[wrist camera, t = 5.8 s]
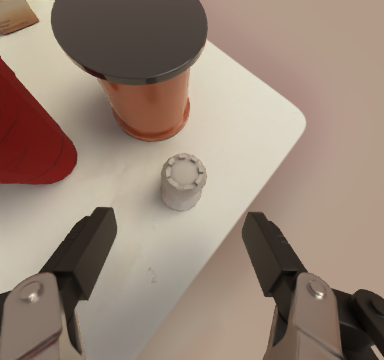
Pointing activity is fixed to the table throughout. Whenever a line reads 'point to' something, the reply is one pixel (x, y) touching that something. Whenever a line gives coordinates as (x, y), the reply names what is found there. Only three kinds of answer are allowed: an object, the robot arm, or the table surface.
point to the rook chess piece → (182, 181)
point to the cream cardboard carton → (15, 15)
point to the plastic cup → (30, 137)
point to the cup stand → (136, 56)
